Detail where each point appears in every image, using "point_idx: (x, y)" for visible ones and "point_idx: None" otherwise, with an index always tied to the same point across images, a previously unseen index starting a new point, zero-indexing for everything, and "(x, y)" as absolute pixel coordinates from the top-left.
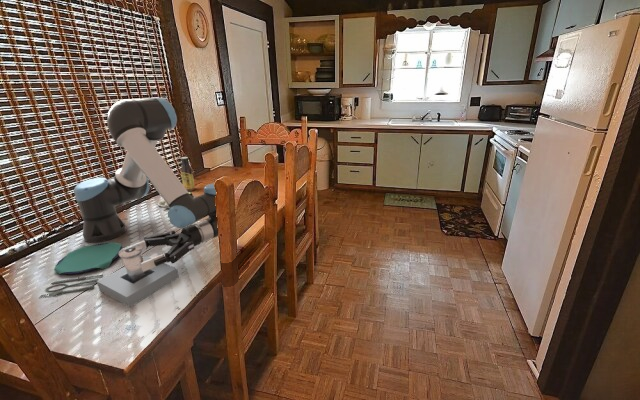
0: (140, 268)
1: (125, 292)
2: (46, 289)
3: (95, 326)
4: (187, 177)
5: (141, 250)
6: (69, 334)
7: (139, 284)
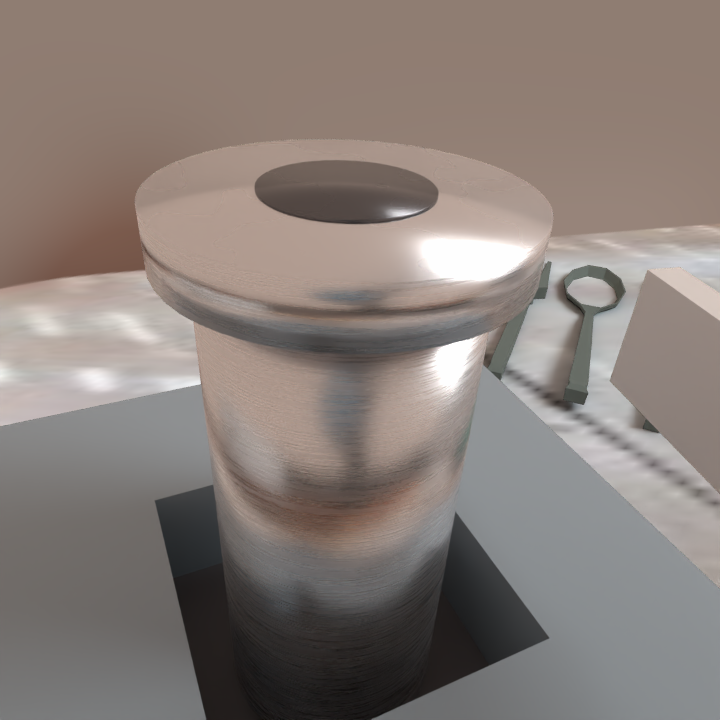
0: (216, 508)
1: (61, 435)
2: (593, 268)
3: (27, 367)
4: None
5: (215, 294)
6: (92, 305)
7: (67, 543)
